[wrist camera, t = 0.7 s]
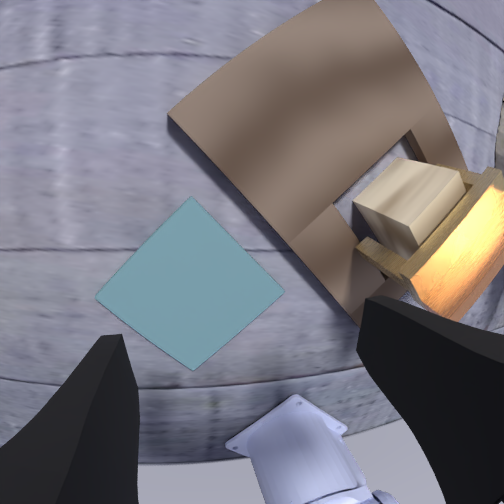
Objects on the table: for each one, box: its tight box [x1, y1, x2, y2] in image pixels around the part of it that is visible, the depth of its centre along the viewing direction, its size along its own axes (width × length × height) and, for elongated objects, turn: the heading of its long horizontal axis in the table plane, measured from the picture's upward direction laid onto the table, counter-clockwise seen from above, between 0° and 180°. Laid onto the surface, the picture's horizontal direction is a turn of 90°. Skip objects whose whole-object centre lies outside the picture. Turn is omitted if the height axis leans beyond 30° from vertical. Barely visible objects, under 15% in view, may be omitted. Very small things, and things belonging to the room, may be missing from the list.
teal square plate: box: [95, 196, 285, 371], centre depth 18 cm, size 8×8×1 cm
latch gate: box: [355, 164, 504, 322], centre depth 15 cm, size 2×8×8 cm, turn 131°
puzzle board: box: [167, 0, 468, 328], centre depth 18 cm, size 19×14×1 cm
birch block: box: [353, 157, 467, 261], centre depth 17 cm, size 4×4×6 cm
